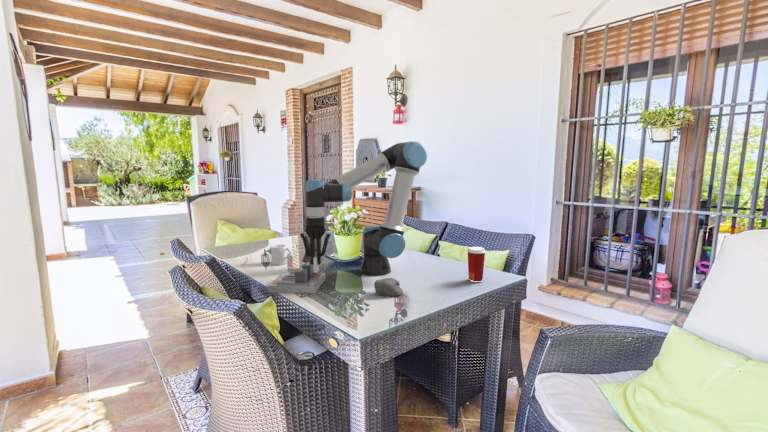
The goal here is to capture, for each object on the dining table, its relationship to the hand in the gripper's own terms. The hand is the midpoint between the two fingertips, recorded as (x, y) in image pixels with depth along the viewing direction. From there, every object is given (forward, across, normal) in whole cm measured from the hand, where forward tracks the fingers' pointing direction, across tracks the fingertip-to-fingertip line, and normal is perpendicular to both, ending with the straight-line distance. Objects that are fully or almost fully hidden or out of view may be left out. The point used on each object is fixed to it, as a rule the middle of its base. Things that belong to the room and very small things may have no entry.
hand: (316, 271), depth 161 cm
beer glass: (+7, -70, -16) cm, 72 cm away
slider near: (+5, +6, 0) cm, 8 cm away
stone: (+8, -31, +4) cm, 32 cm away
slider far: (+5, +6, -10) cm, 13 cm away
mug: (+8, +29, -42) cm, 52 cm away
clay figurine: (+8, +9, -31) cm, 34 cm away
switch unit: (+8, +10, -5) cm, 13 cm away
